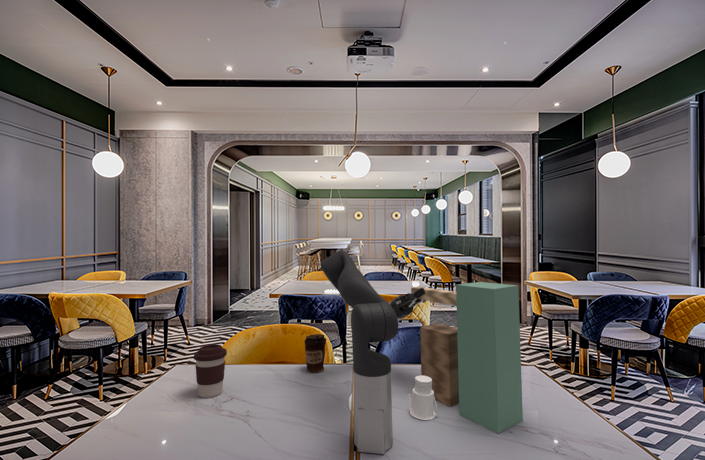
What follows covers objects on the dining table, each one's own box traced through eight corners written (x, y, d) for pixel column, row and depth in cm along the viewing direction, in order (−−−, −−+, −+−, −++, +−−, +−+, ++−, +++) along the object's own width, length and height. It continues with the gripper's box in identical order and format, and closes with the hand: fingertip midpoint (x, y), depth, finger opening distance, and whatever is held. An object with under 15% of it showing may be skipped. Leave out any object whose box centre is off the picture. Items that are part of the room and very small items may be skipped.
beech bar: (464, 304, 105) (463, 292, 106) (456, 305, 103) (456, 294, 104) (418, 296, 121) (418, 286, 121) (411, 297, 119) (411, 287, 119)
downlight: (404, 416, 96) (405, 380, 96) (412, 405, 102) (413, 371, 102) (433, 424, 92) (434, 386, 93) (440, 412, 99) (440, 377, 99)
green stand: (522, 420, 93) (518, 285, 94) (498, 433, 87) (494, 289, 88) (483, 403, 103) (480, 281, 104) (459, 414, 97) (455, 284, 98)
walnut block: (467, 399, 106) (465, 330, 107) (450, 406, 101) (448, 334, 102) (438, 387, 115) (437, 323, 116) (421, 393, 111) (420, 326, 112)
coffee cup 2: (325, 374, 128) (324, 339, 128) (302, 374, 128) (302, 339, 129) (327, 366, 137) (327, 332, 137) (306, 366, 137) (306, 333, 137)
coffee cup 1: (204, 403, 106) (204, 353, 107) (187, 395, 112) (187, 348, 113) (232, 391, 114) (232, 345, 115) (215, 384, 120) (216, 341, 121)
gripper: (415, 316, 129) (446, 298, 117) (386, 321, 121) (417, 302, 109) (408, 297, 133) (437, 278, 121) (379, 301, 125) (408, 281, 113)
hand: (427, 290), depth 115 cm, fingers closed on beech bar, 3 cm apart
